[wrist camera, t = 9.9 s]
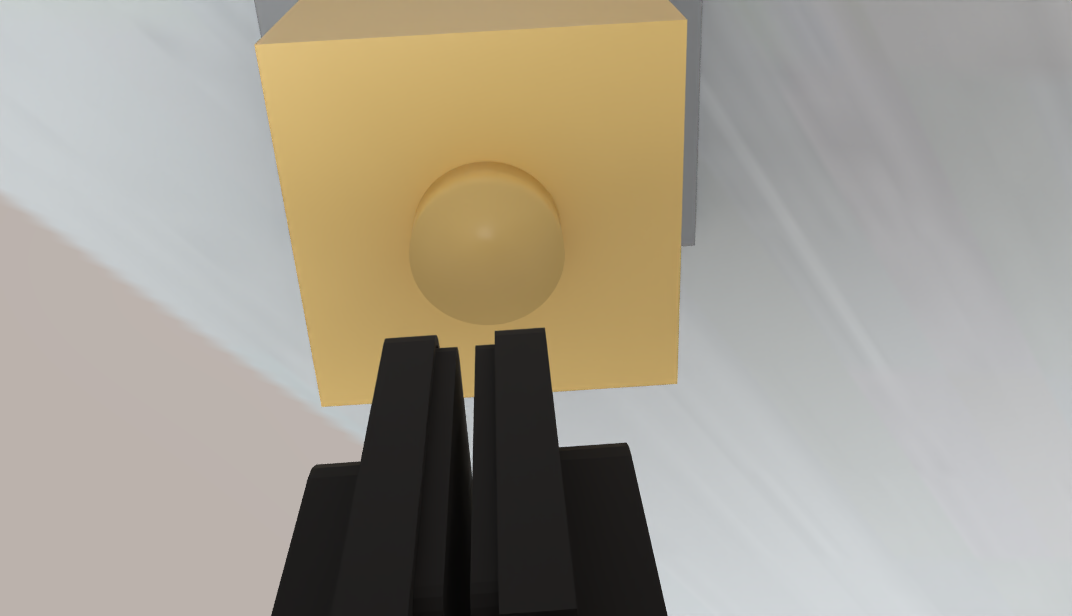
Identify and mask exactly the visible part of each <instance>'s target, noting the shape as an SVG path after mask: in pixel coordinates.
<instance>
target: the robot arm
mask: <svg viewBox="0 0 1072 616" xmlns="http://www.w3.org/2000/svg"><path fill="white" fill-rule="evenodd" d="M271 616H667V611H666V607H665V603H664V598H663V594H662V589H661V585H660V580H659V576H658V571H657V567H656V563H655V558H654V554H653V549H652V545H651V540H650V536H649V532H648V527H647V523H646V518H645V514H644V509H643V505H642V501H641V496H640V492H639V487H638V483H637V478H636V474H635V470H634V465H633V461H632V456H631V453H630V449H629V446H628V444H627V443H615V444H601V445H587V446H573V447H559V445H558V436H557V428H556V419H555V410H554V401H553V393H552V384H551V375H550V366H549V358H548V349H547V340H546V332H545V327H543V328H529V329H514V330H500V331H495V344H490V345H476V346H475V379H474V428H473V476H472V471H471V462H470V452H469V443H468V433H467V424H466V414H465V405H464V395H463V386H462V377H461V367H460V358H459V351H458V347H447V348H440V346H439V341H438V337H437V335H427V336H412V337H398V338H386V339H385V340H384V343H383V348H382V354H381V359H380V364H379V369H378V374H377V379H376V385H375V390H374V395H373V400H372V405H371V410H370V416H369V421H368V426H367V431H366V436H365V442H364V447H363V452H362V457H361V462H348V463H335V464H320V465H315V466H314V467H313V468H312V469H311V472H310V475H309V477H308V480H307V484H306V488H305V491H304V495H303V499H302V503H301V506H300V510H299V514H298V518H297V521H296V525H295V529H294V533H293V536H292V540H291V544H290V548H289V551H288V555H287V559H286V562H285V566H284V570H283V574H282V577H281V581H280V585H279V588H278V592H277V596H276V600H275V604H274V608H273V611H272V615H271Z"/></svg>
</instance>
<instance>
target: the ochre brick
mask: <svg viewBox="0 0 1072 616" xmlns="http://www.w3.org/2000/svg"><path fill="white" fill-rule="evenodd" d="M686 49H687V19H686V18H685V17H684V16H683V15H682V14H681V13H680V12H679V10H678V9H677V8H676V7H675V6H674V5H673V4H672V3H671V2H670V1H669V0H299V1H298V2H297V3H296V4H295V5H294V6H293V7H292V8H291V9H290V10H289V11H288V12H287V13H286V14H285V15H284V16H283V17H282V18H281V19H280V20H279V21H278V22H277V23H276V24H275V25H274V26H273V27H272V28H271V29H270V30H269V31H268V32H267V33H266V34H265V35H264V36H263V37H262V38H261V39H260V40H259V41H258V42H257V43H256V44H255V51H256V56H257V61H258V67H259V72H260V77H261V83H262V88H263V94H264V99H265V104H266V110H267V115H268V120H269V126H270V131H271V137H272V142H273V147H274V153H275V158H276V164H277V169H278V174H279V180H280V185H281V190H282V196H283V201H284V207H285V212H286V217H287V223H288V228H289V233H290V239H291V244H292V250H293V255H294V260H295V266H296V271H297V276H298V282H299V287H300V293H301V298H302V303H303V309H304V314H305V320H306V325H307V330H308V336H309V341H310V346H311V352H312V357H313V363H314V368H315V373H316V379H317V384H318V389H319V395H320V400H321V406H322V407H327V406H342V405H358V404H372V400H373V395H374V390H375V385H376V379H377V374H378V369H379V364H380V359H381V354H382V348H383V343H384V340H385V339H386V338H398V337H412V336H427V335H437V337H438V341H439V346H440V348H447V347H458V351H459V358H460V367H461V377H462V386H463V395H464V398H465V397H474V379H475V346H476V345H490V344H495V331H500V330H514V329H529V328H543V327H545V332H546V340H547V349H548V358H549V366H550V375H551V384H552V392H558V391H573V390H589V389H604V388H619V387H635V386H650V385H666V384H677V374H678V338H679V302H680V265H681V229H682V193H683V157H684V121H685V85H686Z"/></svg>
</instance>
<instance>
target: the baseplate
mask: <svg viewBox="0 0 1072 616" xmlns="http://www.w3.org/2000/svg"><path fill="white" fill-rule="evenodd" d="M298 1H299V0H254V2H255V7H256V13H257V18H258V23H259V29H260V34H261V38H262V37H263V36H264V35H265V34H266V33H267V32H268V31H269V30H270V29H271V28H272V27H273V26H274V25H275V24H276V23H277V22H278V21H279V20H280V19H281V18H282V17H283V16H284V15H285V14H286V13H287V12H288V11H289V10H290V9H291V8H292V7H293V6H294V5H295V4H296V3H297V2H298ZM669 1H670V2H671V3H672V4H673V5H674V6H675V7H676V8H677V9H678V10H679V12H680V13H681V14H682V15H683V16H684V17H685V18H686V19H687V49H686V85H685V121H684V157H683V193H682V229H681V246H692V245H695V225H696V192H697V158H698V125H699V91H700V58H701V24H702V0H669Z"/></svg>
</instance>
